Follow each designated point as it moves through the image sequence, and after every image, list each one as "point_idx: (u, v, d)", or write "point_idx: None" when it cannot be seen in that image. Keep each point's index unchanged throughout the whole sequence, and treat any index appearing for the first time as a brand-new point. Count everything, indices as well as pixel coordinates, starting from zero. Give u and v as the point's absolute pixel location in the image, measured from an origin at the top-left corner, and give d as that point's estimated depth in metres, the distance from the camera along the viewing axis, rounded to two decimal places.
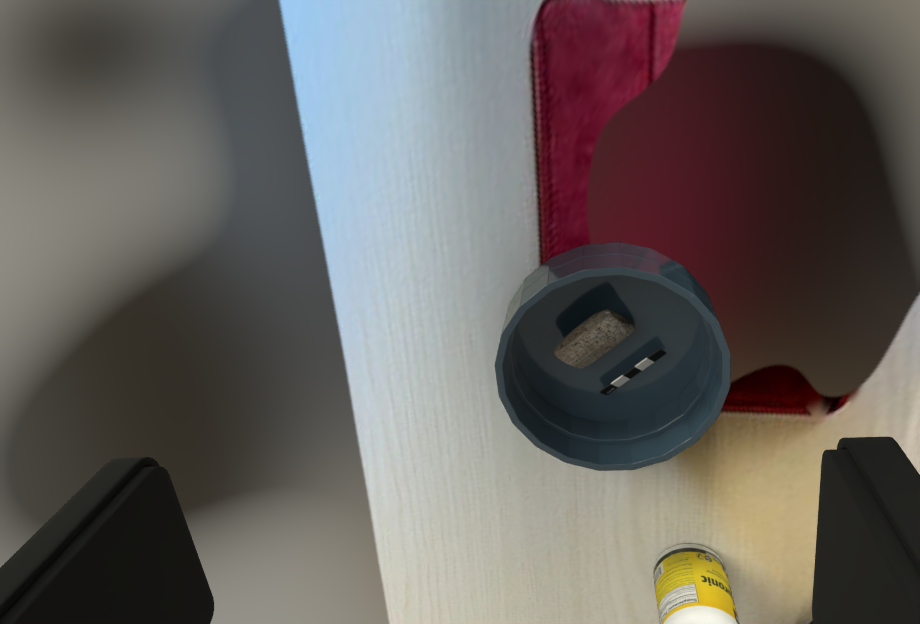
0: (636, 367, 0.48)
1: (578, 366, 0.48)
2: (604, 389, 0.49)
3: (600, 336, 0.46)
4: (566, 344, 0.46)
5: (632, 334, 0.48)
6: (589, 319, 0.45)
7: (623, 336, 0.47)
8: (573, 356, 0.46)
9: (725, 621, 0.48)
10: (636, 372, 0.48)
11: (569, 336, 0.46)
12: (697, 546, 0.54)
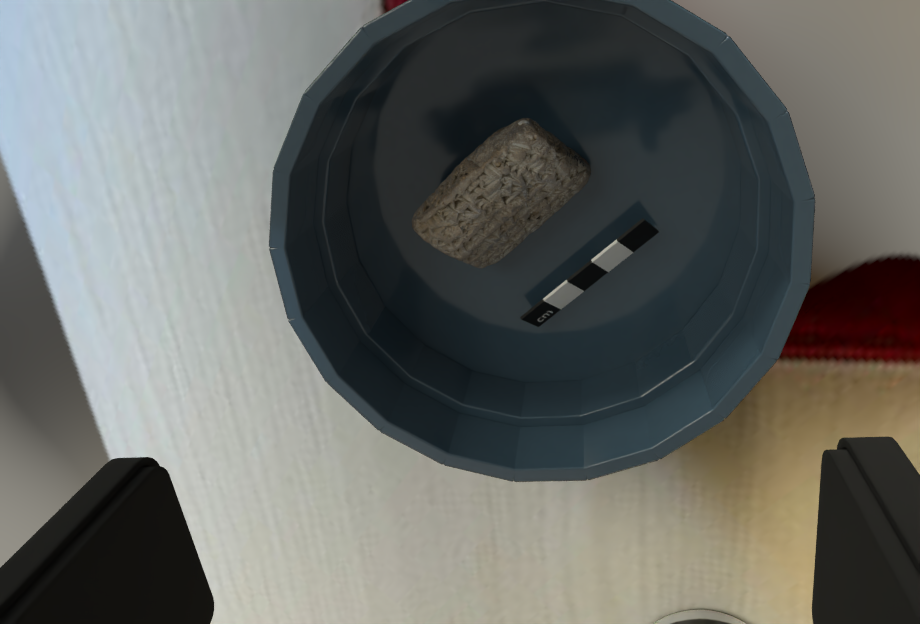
0: (595, 263, 0.23)
1: (472, 261, 0.23)
2: (530, 312, 0.24)
3: (510, 184, 0.20)
4: (435, 203, 0.21)
5: (586, 193, 0.23)
6: (483, 143, 0.20)
7: (564, 190, 0.21)
8: (454, 233, 0.21)
9: None
10: (596, 276, 0.23)
11: (442, 185, 0.21)
12: (717, 616, 0.29)
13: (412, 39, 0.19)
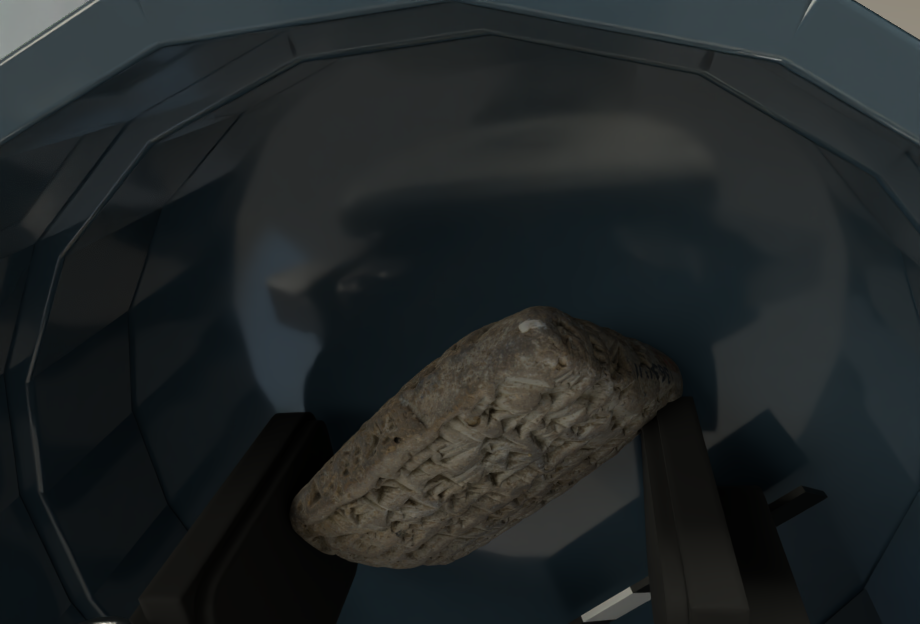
0: None
1: (432, 563, 0.11)
2: None
3: (504, 451, 0.09)
4: (332, 494, 0.09)
5: None
6: (436, 368, 0.08)
7: (628, 436, 0.10)
8: (384, 542, 0.09)
9: None
10: None
11: (346, 453, 0.09)
12: None
13: (166, 126, 0.08)
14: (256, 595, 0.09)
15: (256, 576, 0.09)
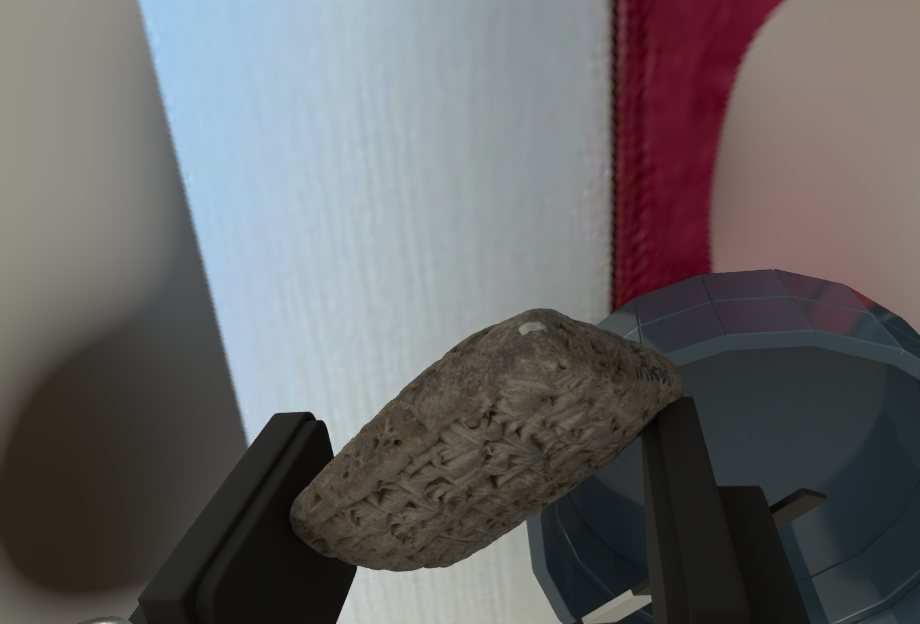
0: None
1: (432, 566, 0.11)
2: None
3: (505, 454, 0.09)
4: (333, 497, 0.09)
5: (783, 442, 0.25)
6: (437, 370, 0.08)
7: (628, 439, 0.10)
8: (384, 545, 0.09)
9: None
10: None
11: (346, 455, 0.09)
12: None
13: None
14: (256, 595, 0.09)
15: (256, 576, 0.09)
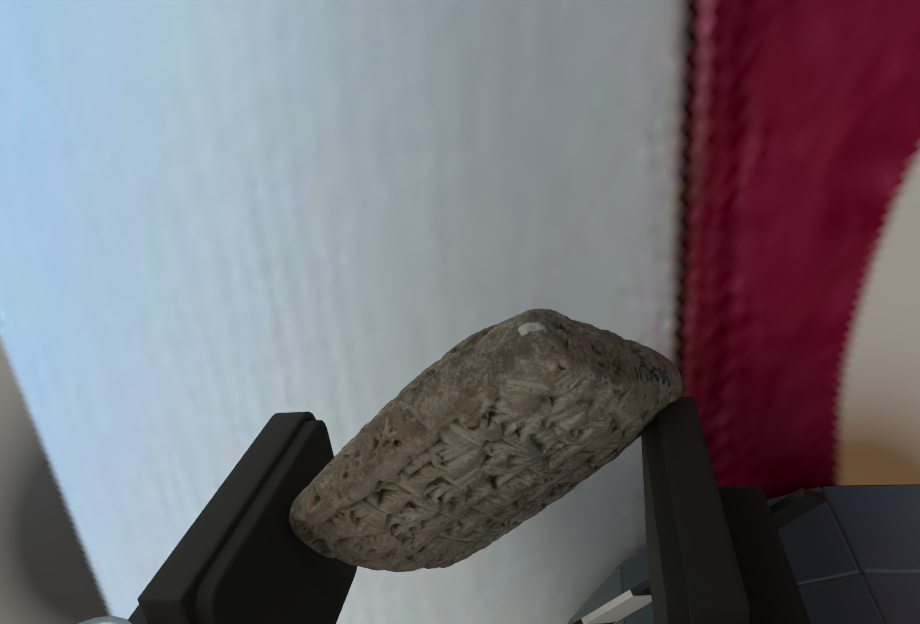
0: None
1: (432, 566, 0.11)
2: None
3: (504, 454, 0.09)
4: (332, 497, 0.09)
5: None
6: (437, 371, 0.08)
7: (628, 439, 0.10)
8: (384, 545, 0.09)
9: None
10: None
11: (346, 456, 0.09)
12: None
13: None
14: (256, 595, 0.09)
15: (256, 576, 0.09)
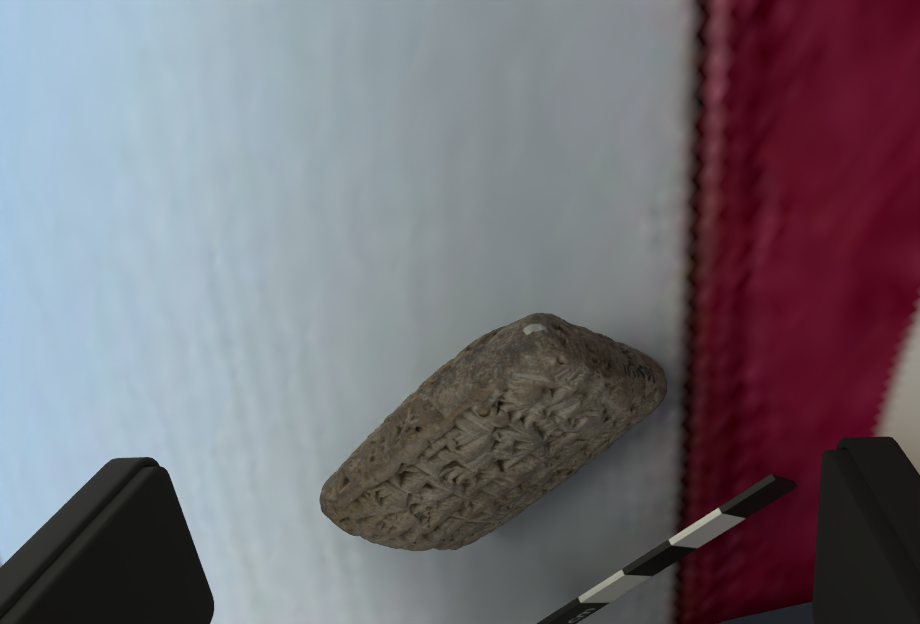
0: (676, 544, 0.12)
1: (444, 547, 0.12)
2: (556, 618, 0.13)
3: (511, 440, 0.10)
4: (360, 478, 0.10)
5: None
6: (452, 366, 0.10)
7: (618, 429, 0.11)
8: (404, 523, 0.11)
9: None
10: (675, 557, 0.13)
11: (372, 442, 0.10)
12: None
13: None
14: None
15: None
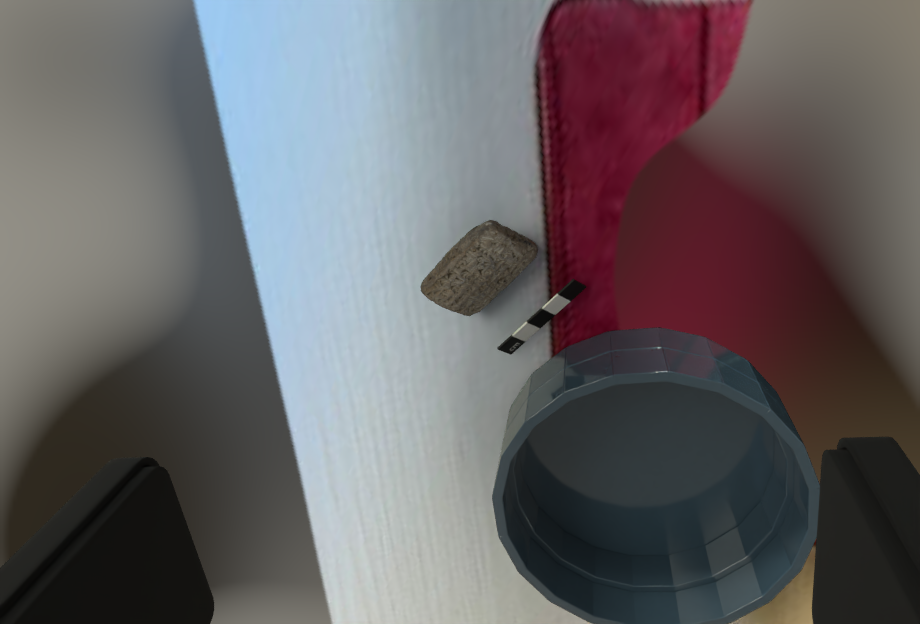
0: (544, 309, 0.34)
1: (462, 311, 0.34)
2: (504, 344, 0.35)
3: (483, 261, 0.32)
4: (435, 275, 0.32)
5: (676, 446, 0.36)
6: (464, 237, 0.31)
7: (520, 263, 0.32)
8: (449, 294, 0.32)
9: None
10: (547, 318, 0.34)
11: (439, 264, 0.32)
12: None
13: None
14: None
15: None
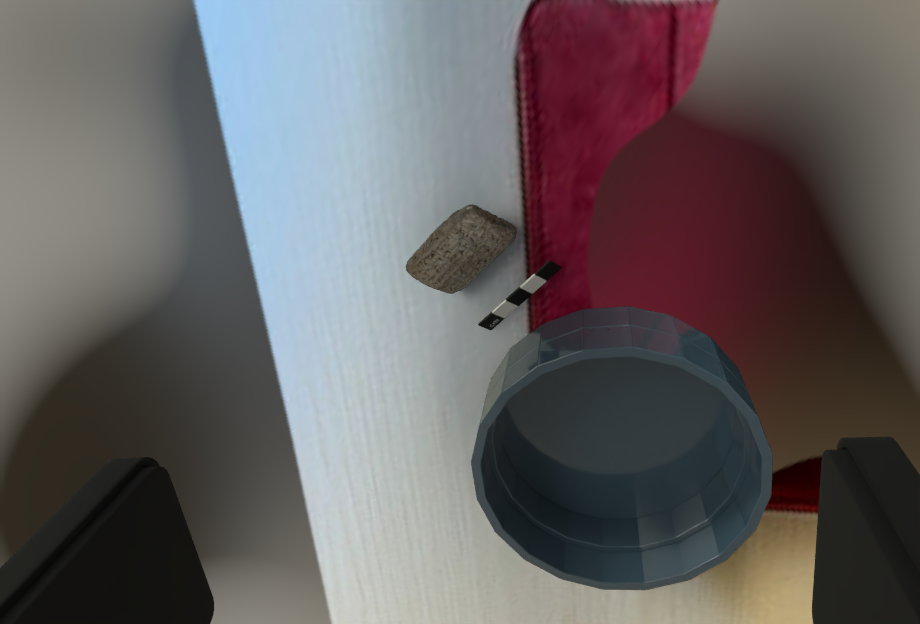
0: (522, 288, 0.36)
1: (445, 289, 0.36)
2: (484, 321, 0.37)
3: (464, 243, 0.34)
4: (419, 256, 0.34)
5: (644, 417, 0.38)
6: (447, 220, 0.33)
7: (499, 244, 0.35)
8: (432, 273, 0.35)
9: None
10: (524, 296, 0.36)
11: (423, 245, 0.34)
12: None
13: None
14: None
15: None
